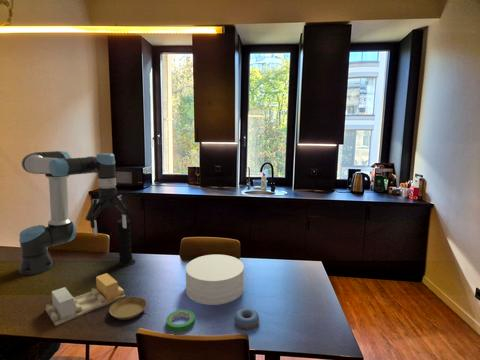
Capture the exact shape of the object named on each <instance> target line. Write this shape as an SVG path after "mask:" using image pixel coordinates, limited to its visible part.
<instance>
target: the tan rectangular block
mask: <svg viewBox="0 0 480 360" xmlns="http://www.w3.org/2000/svg"><path fill="white" fill-rule="evenodd" d="M95 282H96V289H97V291H98V292H99V293H100V294H101V295H102V296H103V297H104V298H105V299H106V300H107V301H108V300H110V299H113V298H115V297H118V286H119V283H118V281H117V280H116V279H115V278H113V277H112V276H111V275H110V274H109V273H107V272H106V273H103V274H100V275H97V276H96V277H95Z"/></svg>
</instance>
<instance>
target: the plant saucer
mask: <svg viewBox="0 0 480 360" xmlns="http://www.w3.org/2000/svg"><path fill="white" fill-rule="evenodd" d="M147 305H148V303H147V300H145V298H143V297H139V296H131V297H125V298H122V299H120V300H117V301H115V302H113V304H111V305H110V307H109V310H108V311H109V314H110V316H112V317H113V318H115V319H117V320H120V321H121V320H123V321H126V320H131V319H134V318H136V317H138V316H139V315H141V314H142V313H143V312H144V311H145V309H146V307H147Z"/></svg>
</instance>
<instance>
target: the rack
mask: <svg viewBox="0 0 480 360" xmlns="http://www.w3.org/2000/svg"><path fill="white" fill-rule="evenodd" d="M73 298H74V307H75V314H73V315H70V316H68V317H65V318H63V319H61V318H60V316H59V315H58V313H57V312H56V310H55V309H54V307H53V304H52V305H51V304H50V303H48V304H46V305H45V311H46V313H47V314H48V316H49V318H50V319H51V322H52V323H53V325H54V327H56V326H59V325H61V324H64V323H67V322H69V321H71V320H73V319H77V318H78V317H80V316H83V315H86V314H88V313H90V312H93V311H95V310H97V309H100V308H102V307H105V306H107V305H108V306H109V305H111V304H112V303H113V304H114V303H115V302H117V301H119V300H121V299H124V298H127V297H126V294H125V290H124V289H123V288H122V287H121V286H120V285H118V297H115V298H113V299H110V300H108V301H107V300H106V299H105V298H104V297H103V296H102V295H101V294H100V293H99V292H98V291H97V288H96V287H93V288H91V291H88V292H86V293H83V294H80V295H77V296H75V297H74V296H73Z"/></svg>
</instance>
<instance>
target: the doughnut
mask: <svg viewBox="0 0 480 360" xmlns="http://www.w3.org/2000/svg"><path fill="white" fill-rule="evenodd" d="M259 322H260V316H259V314H258V312H257V311H256V310H255V309H254V308H249V307H244V308H240V309H238V310H237V311H236V312H235V313H234V323H235V324H236V325H237V327H239V328H241V329H244V330H250V329H254V328H255V327H256V326H258V325H259Z"/></svg>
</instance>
